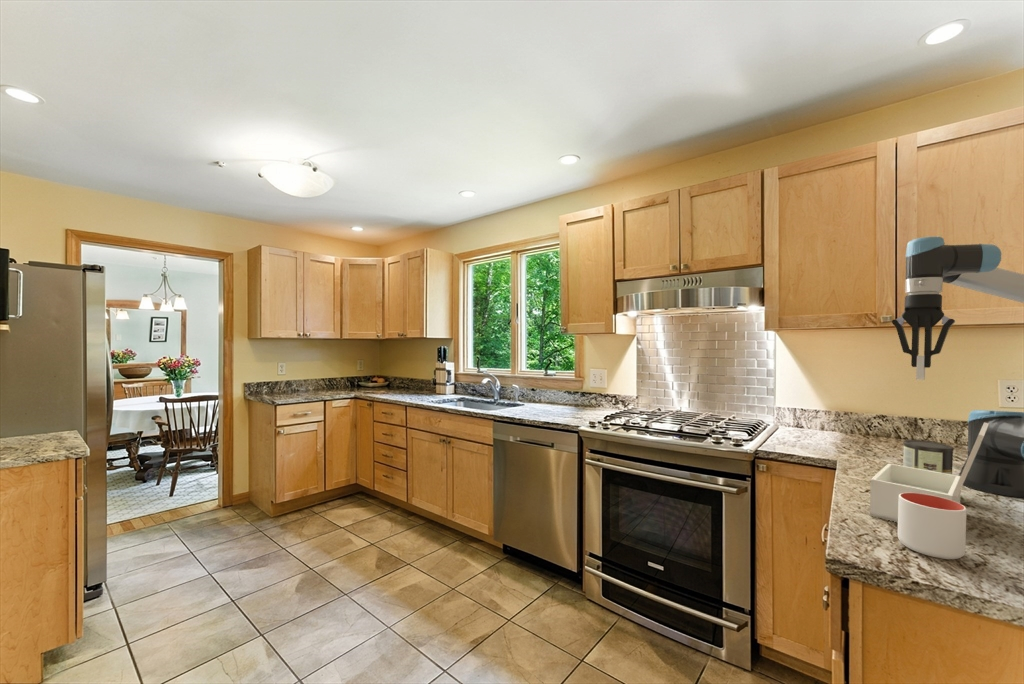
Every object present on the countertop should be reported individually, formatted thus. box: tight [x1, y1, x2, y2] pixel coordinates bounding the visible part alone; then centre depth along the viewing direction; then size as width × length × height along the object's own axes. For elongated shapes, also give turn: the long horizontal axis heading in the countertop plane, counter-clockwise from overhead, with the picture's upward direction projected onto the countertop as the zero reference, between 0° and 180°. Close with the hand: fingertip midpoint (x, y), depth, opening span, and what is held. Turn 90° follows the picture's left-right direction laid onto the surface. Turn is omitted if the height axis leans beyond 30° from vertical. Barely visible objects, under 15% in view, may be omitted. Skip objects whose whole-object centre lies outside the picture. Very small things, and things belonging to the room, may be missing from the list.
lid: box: [953, 422, 989, 497], centre depth 100 cm, size 14×23×1 cm
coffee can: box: [902, 439, 955, 475], centre depth 122 cm, size 10×10×14 cm
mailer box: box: [869, 462, 962, 524], centre depth 107 cm, size 14×22×9 cm, turn 131°
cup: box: [897, 493, 967, 560], centre depth 89 cm, size 10×10×10 cm
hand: (920, 379), depth 120 cm, fingers closed
